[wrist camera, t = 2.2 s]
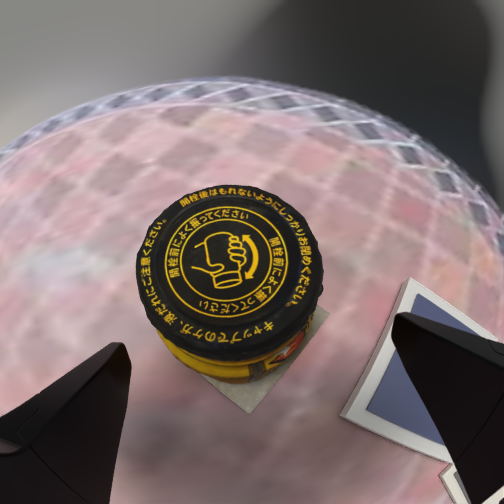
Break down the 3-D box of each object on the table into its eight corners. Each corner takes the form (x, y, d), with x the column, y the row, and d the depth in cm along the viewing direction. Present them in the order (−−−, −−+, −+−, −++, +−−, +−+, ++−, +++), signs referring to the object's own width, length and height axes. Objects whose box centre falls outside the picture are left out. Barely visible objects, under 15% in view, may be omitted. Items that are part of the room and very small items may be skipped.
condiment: (163, 340, 18) (66, 264, 7) (246, 253, 21) (251, 112, 10) (249, 414, 16) (261, 458, 5) (328, 314, 19) (421, 216, 8)
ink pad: (445, 462, 13) (456, 464, 12) (338, 415, 16) (346, 417, 14) (489, 342, 18) (500, 338, 16) (402, 283, 20) (412, 275, 19)
